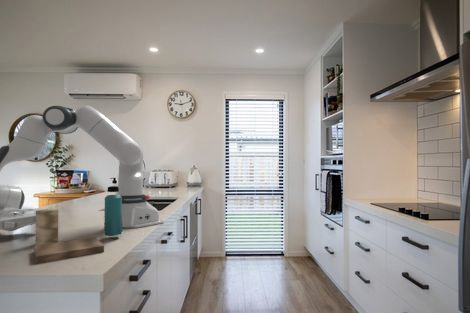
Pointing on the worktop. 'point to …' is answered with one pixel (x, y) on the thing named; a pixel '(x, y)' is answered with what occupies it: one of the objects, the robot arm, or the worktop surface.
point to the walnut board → (67, 249)
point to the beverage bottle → (113, 213)
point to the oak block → (46, 226)
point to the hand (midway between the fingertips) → (29, 222)
